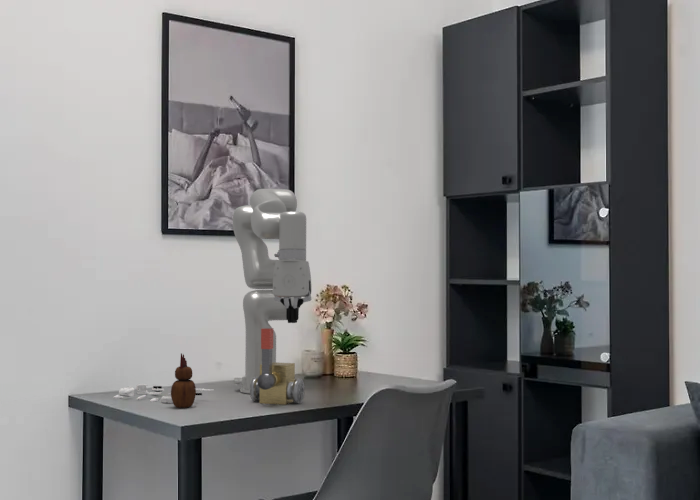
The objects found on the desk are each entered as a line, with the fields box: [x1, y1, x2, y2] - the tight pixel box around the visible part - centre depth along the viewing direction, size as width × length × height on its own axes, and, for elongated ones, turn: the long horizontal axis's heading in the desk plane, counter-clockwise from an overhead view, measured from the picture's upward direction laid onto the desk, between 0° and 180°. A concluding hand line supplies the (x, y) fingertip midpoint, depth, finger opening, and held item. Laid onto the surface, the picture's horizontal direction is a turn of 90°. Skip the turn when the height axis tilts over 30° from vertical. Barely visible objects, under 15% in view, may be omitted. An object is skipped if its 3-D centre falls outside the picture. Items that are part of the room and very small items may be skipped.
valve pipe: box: [249, 361, 305, 406], centre depth 255 cm, size 14×10×11 cm
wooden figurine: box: [170, 353, 197, 409], centre depth 246 cm, size 7×6×15 cm
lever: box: [257, 327, 276, 390], centre depth 249 cm, size 4×3×17 cm
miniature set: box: [112, 383, 213, 404], centre depth 261 cm, size 6×35×12 cm
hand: (292, 322), depth 247 cm, fingers closed
